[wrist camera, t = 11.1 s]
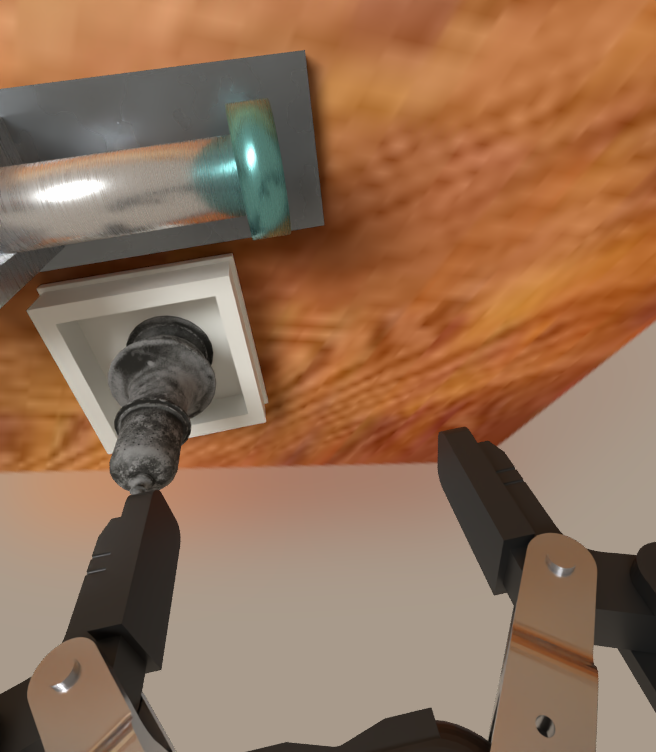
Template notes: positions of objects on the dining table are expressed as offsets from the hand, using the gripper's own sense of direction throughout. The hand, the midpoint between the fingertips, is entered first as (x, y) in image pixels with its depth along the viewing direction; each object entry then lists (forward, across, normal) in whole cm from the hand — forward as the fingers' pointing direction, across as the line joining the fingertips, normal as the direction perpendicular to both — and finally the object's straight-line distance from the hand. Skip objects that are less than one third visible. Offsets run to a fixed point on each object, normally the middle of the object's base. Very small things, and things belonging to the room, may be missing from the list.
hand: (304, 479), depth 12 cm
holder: (+17, +8, +4) cm, 19 cm away
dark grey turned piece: (+17, +8, +4) cm, 19 cm away
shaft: (+13, +5, -7) cm, 15 cm away
